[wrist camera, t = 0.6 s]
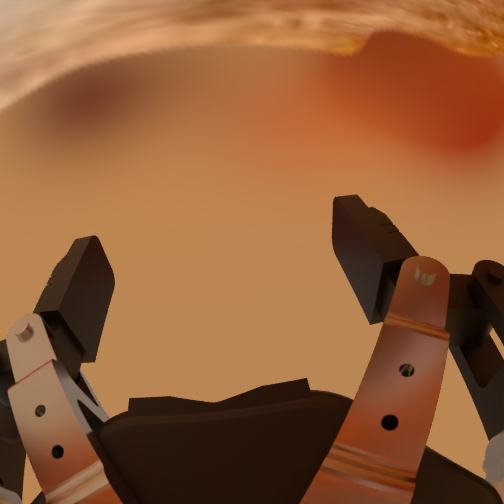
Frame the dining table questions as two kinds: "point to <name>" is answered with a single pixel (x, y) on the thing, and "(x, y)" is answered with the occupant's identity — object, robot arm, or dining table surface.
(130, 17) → the dining table surface
